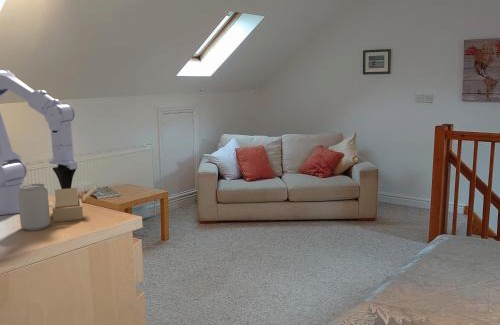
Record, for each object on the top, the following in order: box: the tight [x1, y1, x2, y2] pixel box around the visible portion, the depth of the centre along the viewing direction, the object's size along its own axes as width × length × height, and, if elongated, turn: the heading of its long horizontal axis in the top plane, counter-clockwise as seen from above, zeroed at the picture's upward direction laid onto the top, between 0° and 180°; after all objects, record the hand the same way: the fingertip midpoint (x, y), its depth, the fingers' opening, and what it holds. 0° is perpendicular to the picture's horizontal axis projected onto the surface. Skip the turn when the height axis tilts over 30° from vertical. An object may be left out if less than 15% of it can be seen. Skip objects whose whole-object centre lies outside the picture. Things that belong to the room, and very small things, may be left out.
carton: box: [48, 198, 84, 224], centre depth 143 cm, size 15×12×4 cm
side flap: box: [82, 185, 97, 202], centre depth 145 cm, size 5×5×1 cm
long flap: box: [54, 187, 79, 207], centre depth 137 cm, size 5×6×1 cm
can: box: [18, 183, 51, 232], centre depth 131 cm, size 8×8×12 cm
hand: (66, 190), depth 142 cm, fingers closed
